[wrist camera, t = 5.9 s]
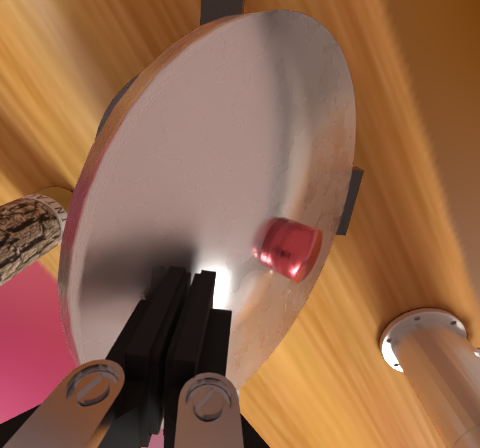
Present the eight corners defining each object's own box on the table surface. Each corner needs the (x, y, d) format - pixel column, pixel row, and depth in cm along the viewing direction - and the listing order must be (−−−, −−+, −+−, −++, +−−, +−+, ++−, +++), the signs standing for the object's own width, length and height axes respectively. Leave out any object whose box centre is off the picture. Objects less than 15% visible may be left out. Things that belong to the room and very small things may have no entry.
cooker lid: (360, 65, 21) (414, 66, 19) (303, 301, 29) (336, 319, 27) (-16, -153, 5) (70, -283, 3) (89, 498, 13) (131, 575, 11)
